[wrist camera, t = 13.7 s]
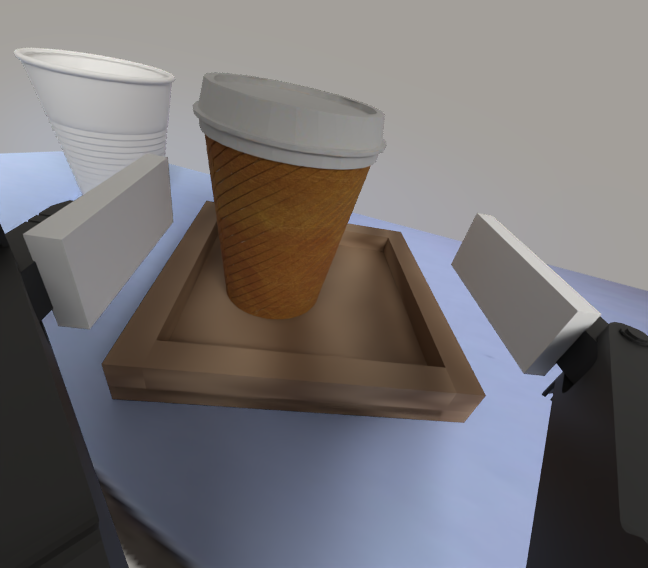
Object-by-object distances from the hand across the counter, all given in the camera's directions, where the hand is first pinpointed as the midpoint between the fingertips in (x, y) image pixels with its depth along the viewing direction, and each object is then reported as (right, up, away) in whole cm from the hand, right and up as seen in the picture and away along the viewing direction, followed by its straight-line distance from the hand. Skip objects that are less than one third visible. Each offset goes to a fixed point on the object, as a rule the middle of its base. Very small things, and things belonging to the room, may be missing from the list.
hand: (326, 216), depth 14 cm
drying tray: (-2, -4, +10) cm, 11 cm away
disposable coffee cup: (-4, -3, +9) cm, 10 cm away
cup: (-19, +5, +17) cm, 26 cm away
